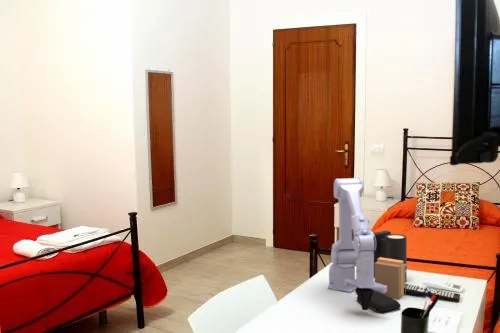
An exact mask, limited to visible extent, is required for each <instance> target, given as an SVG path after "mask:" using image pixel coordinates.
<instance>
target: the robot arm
mask: <svg viewBox="0 0 500 333" xmlns="http://www.w3.org/2000/svg"><path fill="white" fill-rule="evenodd" d="M333 181H334V182H333V198H335V199H337V200H338V233H339V234H338V239H337V241H336V242H334V243H332V245H331V252H330V259H331V265H330V266H329V269H328V289H330V290H331V289H332V290H337V291H341V292H346V293H352V292H353V291H355V292H354V293H355V294H356V297H357V296H358V298H359V300H360V302H359V303H360V305H361V310H362V311H368V310H369V303H370V300H371V297H372V295H373V293H374V291H381V292H382V293H385V292H387V286H386V285H382V284H379V283H376V282H375V278H374V252H373V251H375V250H376V238H375V235H374V234H373V233H374V232H373V230H371V227H370V223H369V221H368V220H369V219H368V217H367V215H365V214H364V213H363V206H362V201H361V200H362V199H361V198H362V196H363V193H364V180H363V179H362V178H361V177H351V178H350V177H349V178H335V180H333ZM352 235H353V236H352Z"/></svg>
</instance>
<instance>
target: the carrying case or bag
mask: <svg viewBox="0 0 500 333" xmlns="http://www.w3.org/2000/svg"><path fill="white" fill-rule="evenodd" d="M356 301H357V302H358V303H360V300H359V298H358V296H357V295H356ZM401 307H402V306H401V303H400V302H399V301H397V299H393V298H390V297H388V296H386V295H384V294H381V293H379V292H377V291H374V293H373V295H372V297H371V300H370V303H369V308H368V310H372V311H375V312H377V313H379V314H385V313H390V312H394V311H398V310H399V309H400V308H401Z"/></svg>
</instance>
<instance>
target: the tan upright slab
mask: <svg viewBox="0 0 500 333" xmlns="http://www.w3.org/2000/svg"><path fill="white" fill-rule="evenodd" d="M374 282H376V283H379V284H382V285H386V286H387V292H385V293H382V292H381V291H377V292H379V293H381V294H384V295H386V296H388V297H390V298H392V299H394V300H400V299H402V298H403V297H404V295H405V294H404V288H405V289H406V282H405V264H404V261H402V260H395V259H388V258H381V257H380V258H378V259H377V262H376V263H375V278H374Z"/></svg>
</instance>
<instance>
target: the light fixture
mask: <svg viewBox="0 0 500 333" xmlns="http://www.w3.org/2000/svg"><path fill="white" fill-rule="evenodd" d="M373 234H374V235H375V238H376V250H375V251H373V252H374V279H375V263H376V262H377V259H378V258H380V257H381V258H388V259H395V260H402V261H404V264H405V283H406V282H407V280H408V278H407V275H408V274H407V272H408V271H407V270H408V269H407V268H408V267H407V262H408V261H407V255H408V253H407V238H408V237H407V236H406V235H404V234H399V233H392V232H391V230H387V229H385V230H381V231H376V232H373Z"/></svg>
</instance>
